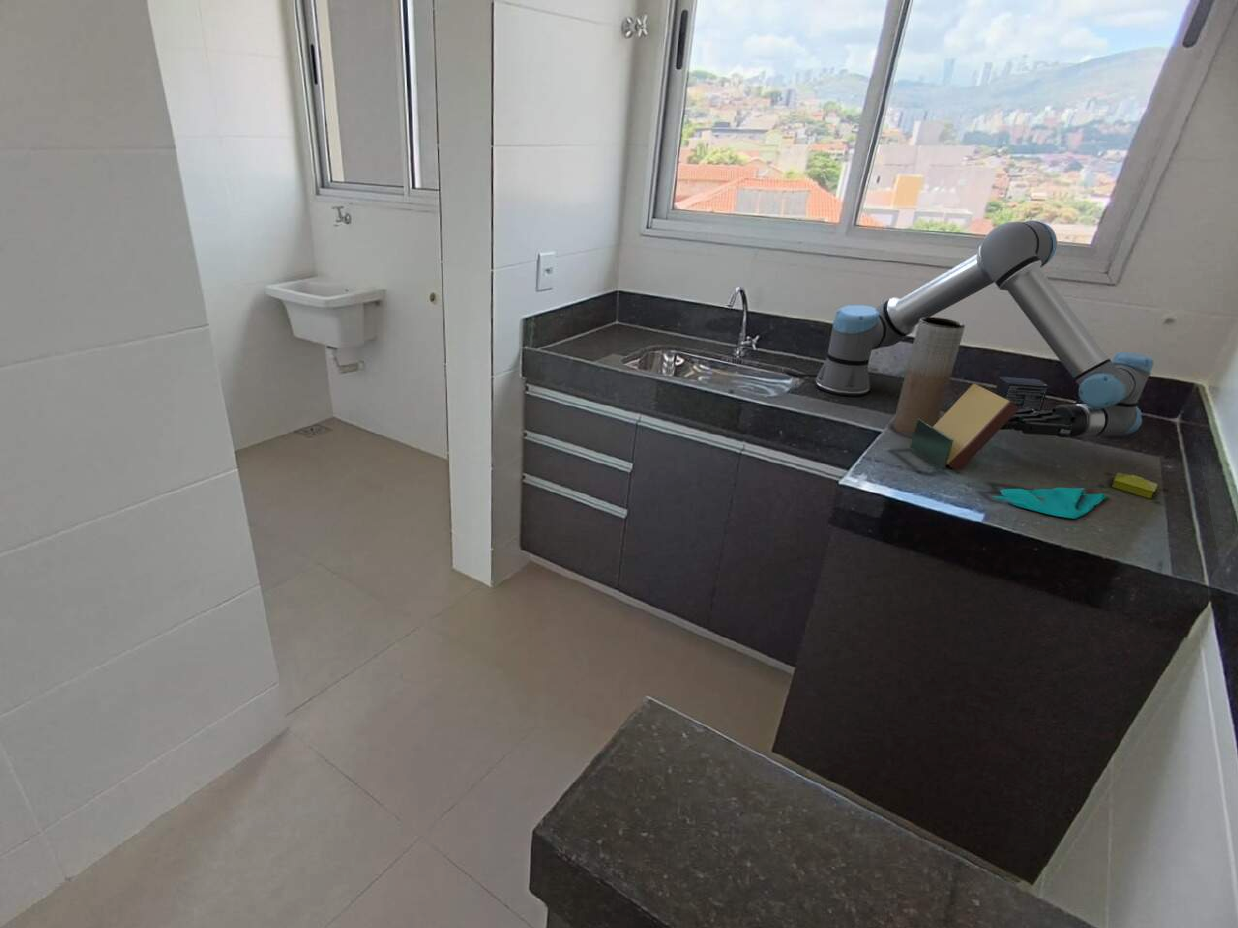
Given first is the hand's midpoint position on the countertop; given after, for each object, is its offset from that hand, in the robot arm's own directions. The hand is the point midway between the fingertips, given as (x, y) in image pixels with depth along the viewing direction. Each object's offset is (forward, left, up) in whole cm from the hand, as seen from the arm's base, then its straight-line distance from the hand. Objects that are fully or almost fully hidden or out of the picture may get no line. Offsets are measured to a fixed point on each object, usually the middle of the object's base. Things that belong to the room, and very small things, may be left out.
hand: (987, 423), depth 148 cm
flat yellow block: (+29, +11, -9) cm, 33 cm away
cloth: (+17, -11, -9) cm, 23 cm away
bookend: (-9, -12, -9) cm, 18 cm away
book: (-6, -8, -8) cm, 13 cm away
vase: (-17, +7, -9) cm, 20 cm away
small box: (-1, +39, -9) cm, 40 cm away
